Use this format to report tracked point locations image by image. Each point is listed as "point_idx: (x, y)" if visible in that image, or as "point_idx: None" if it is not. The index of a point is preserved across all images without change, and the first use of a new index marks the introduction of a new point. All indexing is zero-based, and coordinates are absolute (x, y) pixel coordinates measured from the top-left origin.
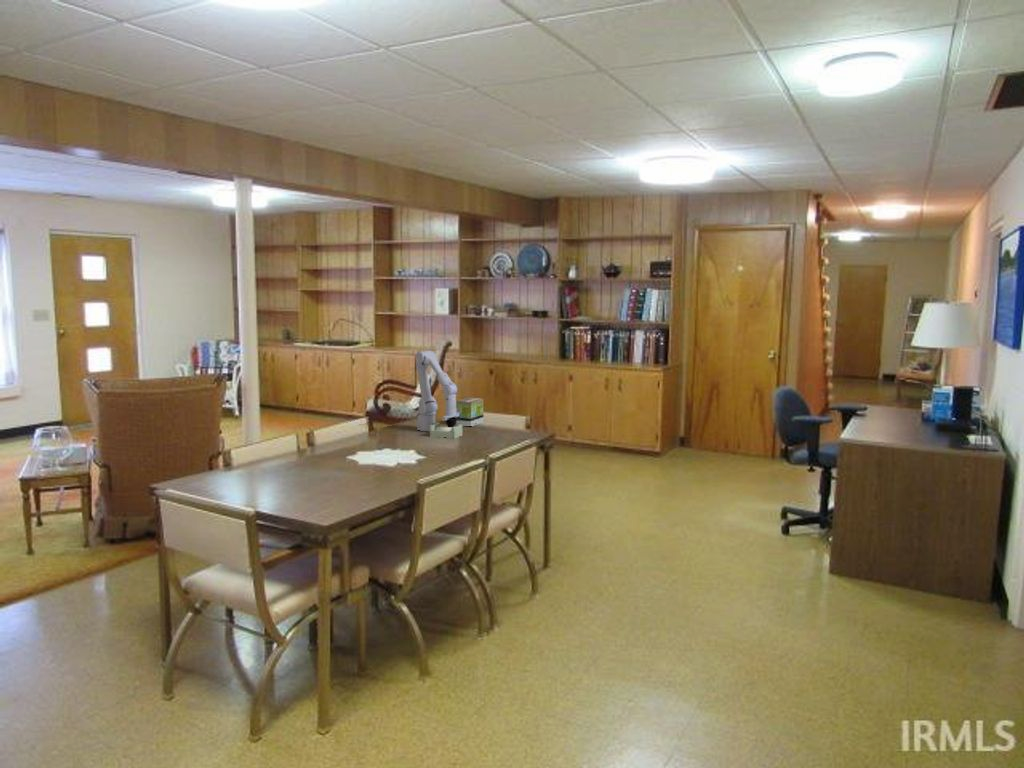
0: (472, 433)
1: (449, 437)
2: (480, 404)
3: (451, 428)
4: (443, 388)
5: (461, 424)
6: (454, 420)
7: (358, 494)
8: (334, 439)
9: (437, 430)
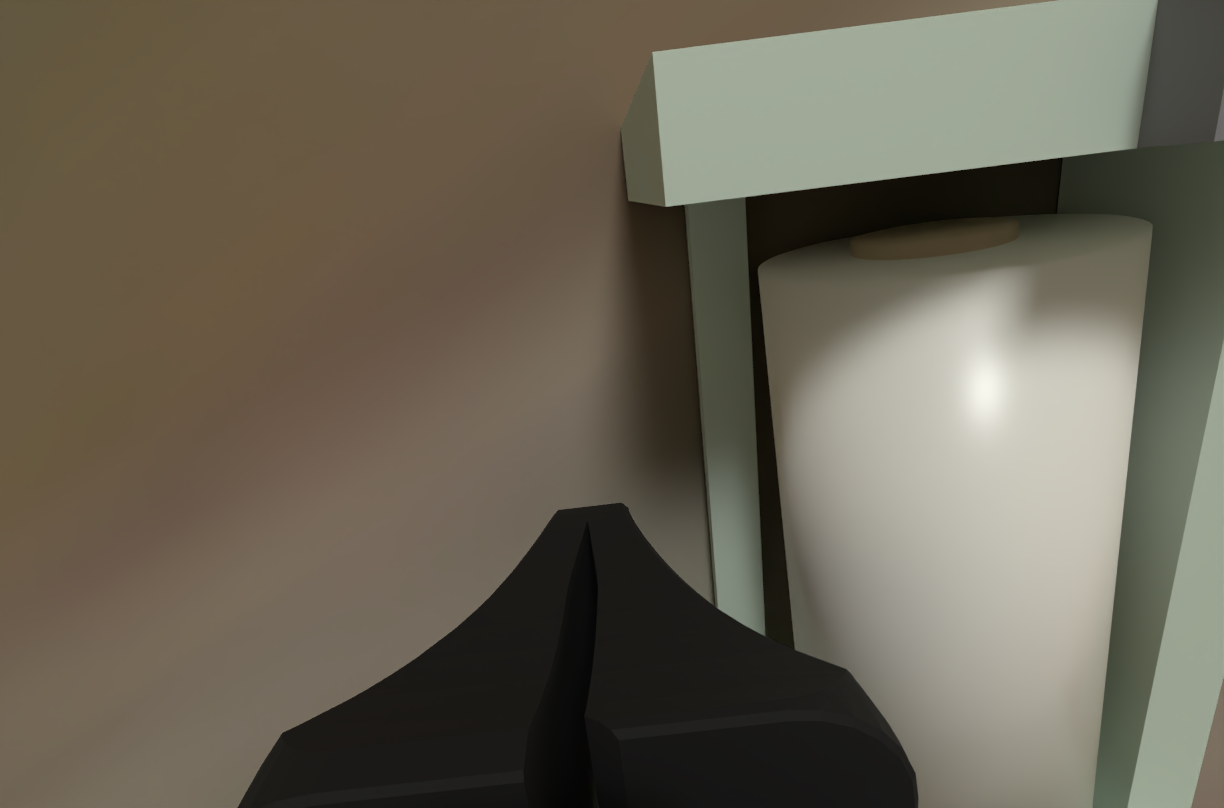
0: (173, 19)
1: None
2: None
3: (1119, 351)
4: None
5: (674, 95)
6: (678, 695)
7: None
8: None
9: (1161, 710)
